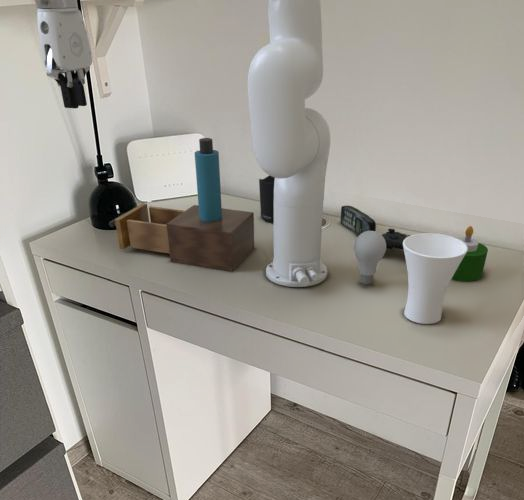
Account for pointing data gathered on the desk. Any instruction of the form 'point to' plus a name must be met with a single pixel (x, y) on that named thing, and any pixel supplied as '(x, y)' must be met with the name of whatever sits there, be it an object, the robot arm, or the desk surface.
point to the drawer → (145, 228)
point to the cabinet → (211, 239)
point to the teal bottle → (208, 181)
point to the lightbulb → (369, 254)
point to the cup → (430, 273)
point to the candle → (471, 259)
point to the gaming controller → (394, 239)
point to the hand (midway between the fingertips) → (75, 106)
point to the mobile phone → (356, 220)
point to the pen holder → (267, 198)
